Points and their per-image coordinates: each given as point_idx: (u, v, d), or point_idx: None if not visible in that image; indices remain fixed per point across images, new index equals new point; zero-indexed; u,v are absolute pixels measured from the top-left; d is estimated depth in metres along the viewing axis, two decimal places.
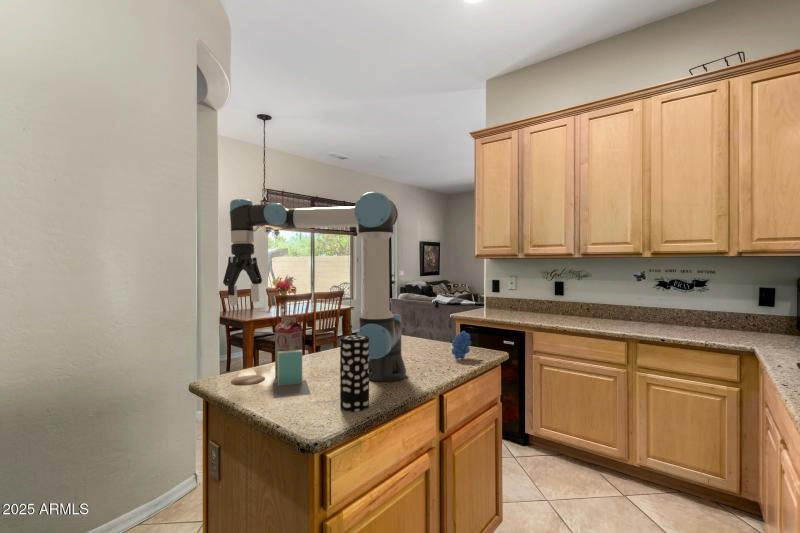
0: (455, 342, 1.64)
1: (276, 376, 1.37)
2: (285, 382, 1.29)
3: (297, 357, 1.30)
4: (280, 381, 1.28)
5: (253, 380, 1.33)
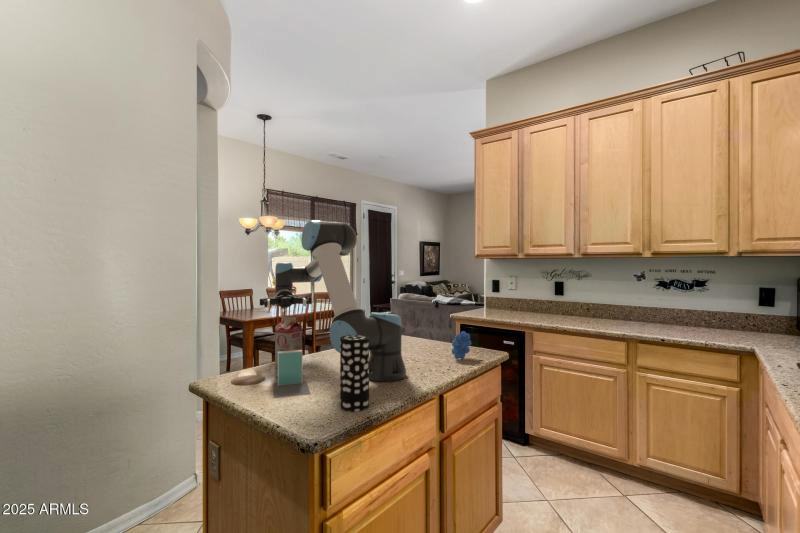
0: (455, 342, 1.64)
1: (276, 376, 1.37)
2: (285, 382, 1.29)
3: (297, 357, 1.30)
4: (280, 381, 1.28)
5: (253, 380, 1.33)
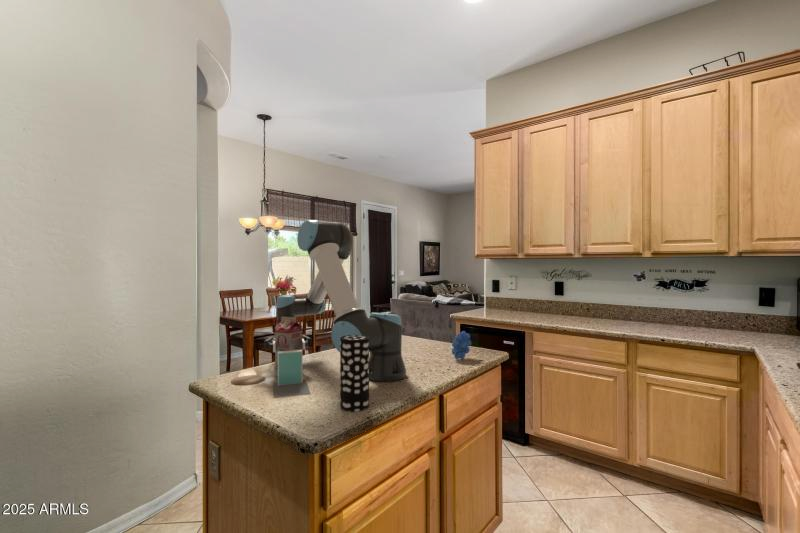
0: (455, 342, 1.64)
1: (276, 376, 1.37)
2: (285, 382, 1.29)
3: (297, 357, 1.30)
4: (280, 381, 1.28)
5: (253, 380, 1.33)
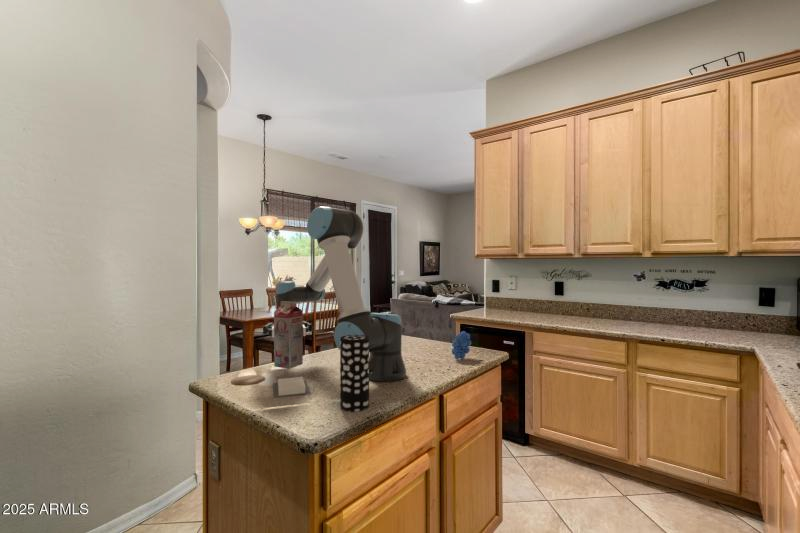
0: (455, 342, 1.64)
1: (275, 363, 1.30)
2: None
3: None
4: None
5: (253, 380, 1.33)
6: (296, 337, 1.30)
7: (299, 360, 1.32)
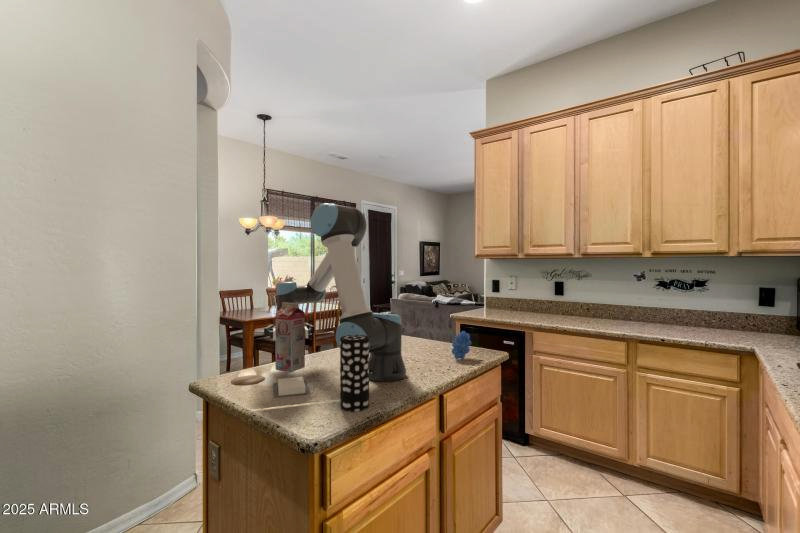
0: (455, 342, 1.64)
1: (276, 366, 1.26)
2: None
3: None
4: None
5: (253, 380, 1.33)
6: (298, 339, 1.26)
7: (301, 363, 1.28)
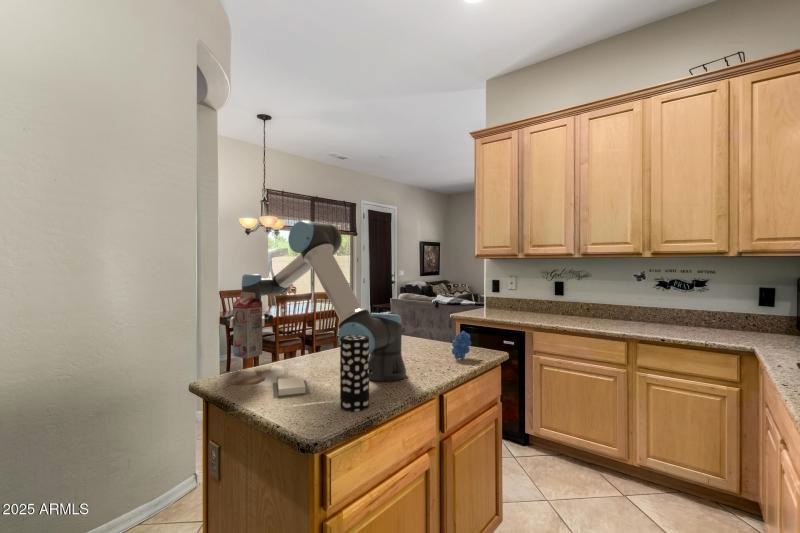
0: (455, 342, 1.64)
1: (234, 353, 1.32)
2: None
3: None
4: None
5: (253, 380, 1.33)
6: (254, 327, 1.33)
7: (259, 350, 1.34)
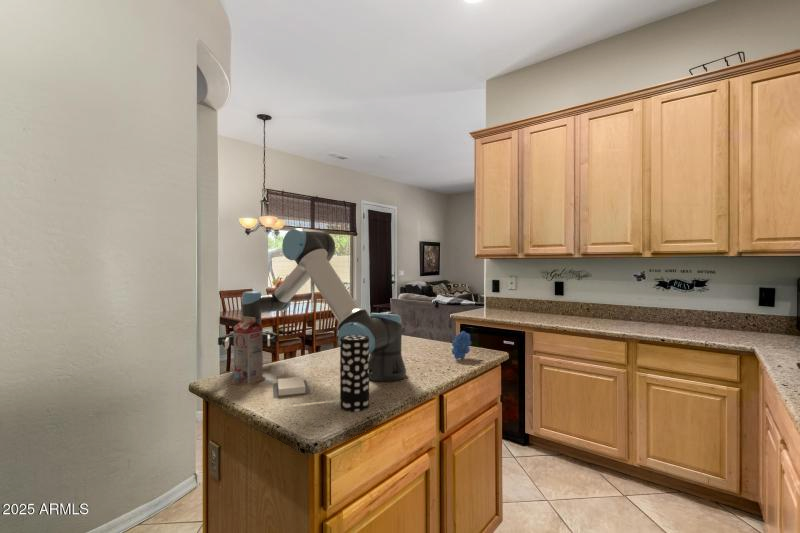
0: (455, 342, 1.64)
1: (234, 378, 1.32)
2: None
3: None
4: None
5: None
6: (255, 352, 1.33)
7: (259, 375, 1.34)
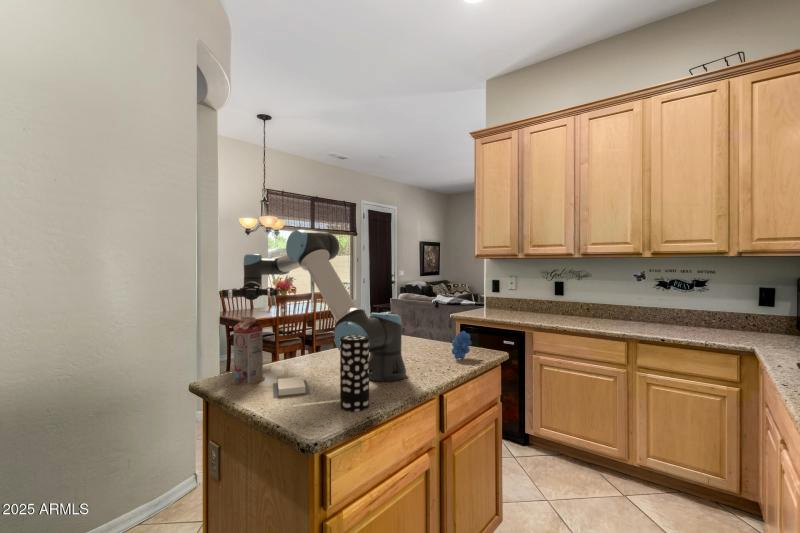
0: (455, 342, 1.64)
1: (234, 378, 1.32)
2: None
3: None
4: None
5: None
6: (255, 352, 1.33)
7: (259, 375, 1.34)
